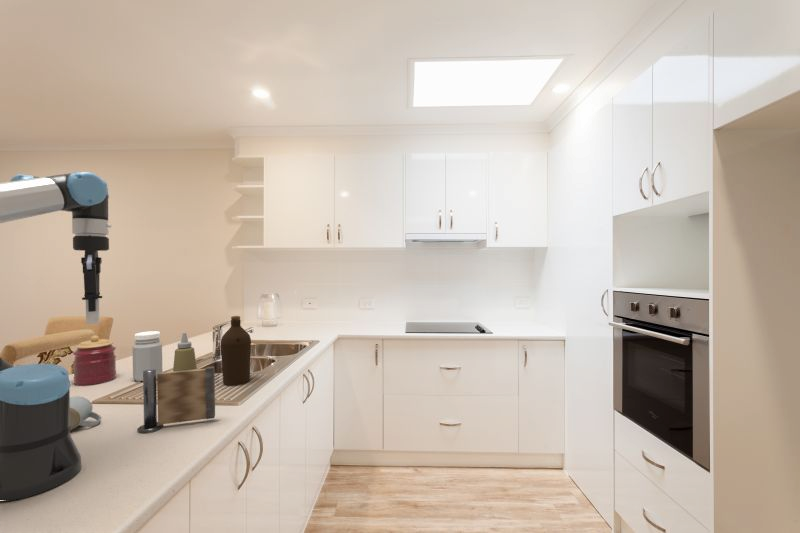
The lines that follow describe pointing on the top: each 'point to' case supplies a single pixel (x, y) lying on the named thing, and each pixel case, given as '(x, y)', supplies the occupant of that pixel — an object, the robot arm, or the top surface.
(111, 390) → the top surface
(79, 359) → the canister
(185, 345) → the squeeze bottle
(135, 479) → the top surface
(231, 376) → the olive oil
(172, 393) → the gate
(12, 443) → the robot arm
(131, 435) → the top surface
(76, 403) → the ceramic mug
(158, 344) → the jar
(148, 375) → the gate post
